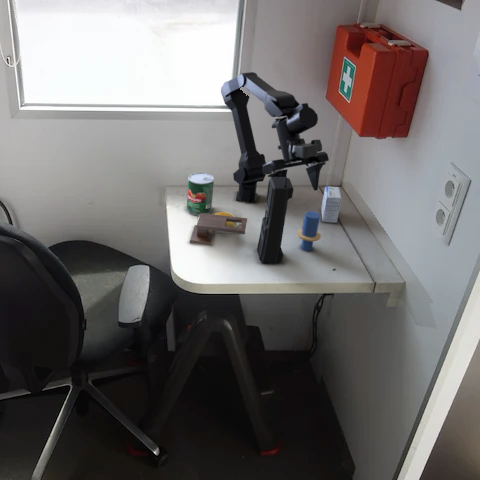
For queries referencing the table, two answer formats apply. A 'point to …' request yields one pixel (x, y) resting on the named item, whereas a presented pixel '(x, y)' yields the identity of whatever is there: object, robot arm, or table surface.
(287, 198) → the portable radio
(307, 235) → the peg
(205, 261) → the table surface
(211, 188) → the canned tomato
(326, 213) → the medicine box
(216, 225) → the stand
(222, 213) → the bread roll
